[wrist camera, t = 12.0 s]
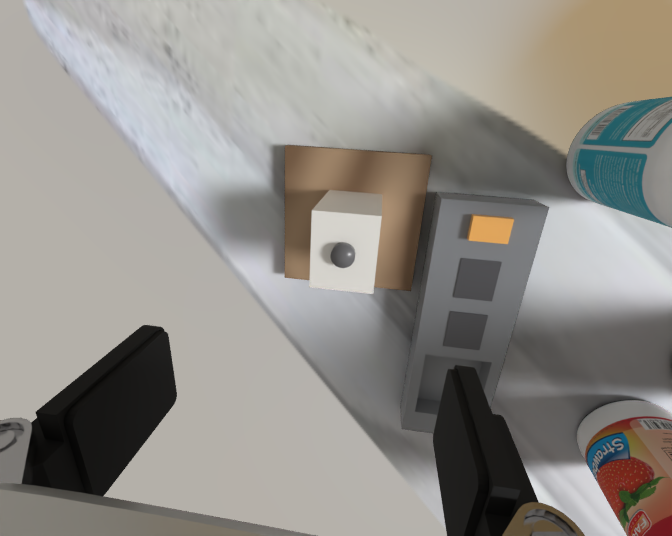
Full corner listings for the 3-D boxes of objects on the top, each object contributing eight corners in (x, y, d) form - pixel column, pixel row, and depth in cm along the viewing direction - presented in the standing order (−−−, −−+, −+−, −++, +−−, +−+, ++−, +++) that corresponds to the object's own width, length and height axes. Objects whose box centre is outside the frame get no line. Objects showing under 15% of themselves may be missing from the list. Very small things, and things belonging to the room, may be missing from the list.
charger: (382, 194, 29) (381, 218, 21) (375, 255, 31) (372, 298, 24) (329, 189, 30) (309, 212, 22) (326, 250, 32) (307, 290, 24)
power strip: (533, 199, 29) (552, 209, 26) (473, 417, 38) (482, 445, 35) (436, 192, 30) (442, 200, 27) (400, 407, 39) (401, 433, 36)
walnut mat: (430, 154, 29) (432, 155, 28) (409, 285, 33) (410, 290, 32) (288, 145, 30) (285, 145, 29) (287, 272, 35) (284, 277, 33)
